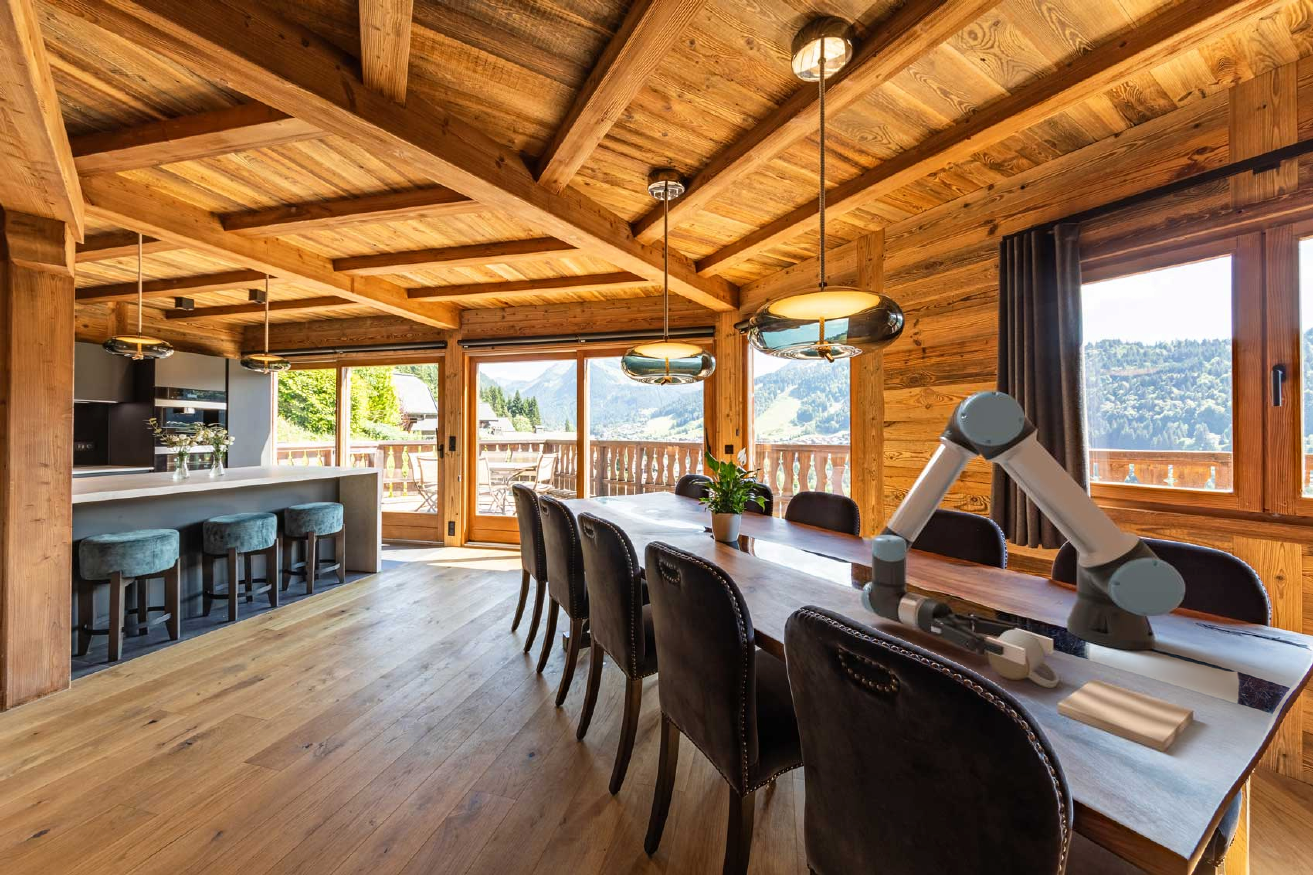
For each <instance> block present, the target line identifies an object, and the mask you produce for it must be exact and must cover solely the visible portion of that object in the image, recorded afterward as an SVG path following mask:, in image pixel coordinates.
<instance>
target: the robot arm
mask: <svg viewBox="0 0 1313 875" xmlns="http://www.w3.org/2000/svg"><path fill="white" fill-rule="evenodd" d="M946 424H947V425H946V427H945V429H944V430H943V431H942V433H941V434H940V436H939V441H940V444H939V446H938V447H937V449H936V450H935V452H934V453H933V455H932V456H931V458H930V459H929V460H928V462H927V464H926V465H925V467H924V468H923V470H922V471H921V473H919V475H918V477H917V478H916V480H915V481H914V482H913V485H912V486H911V487H910V489H909V491H908V492H907V493H906V495H905V496H904V498H903V499H902V501H901V503H900V504H899V505H898V507H897V508H896V510H895V512H894V513H893V515H892V516H891V517H890V519H889V520H888V522H887V523H886V525H885V527H884V528H883V529H882V531H881V532H880V534H878V535H875V536H873V538H872V542H871V543H872V544H871V567H872V568H871V569H872V570H871V573H872V574H871V575H872V579H871V581H869V582H867V583H866V584H865V585H864V586H863V588H862V592H861V593H860V601H861V604H862V606H863V608H864V609H865V611H867V612H870V613H872V614H874V615H876V616H878V617H880V618H883V619H887V620H890V621H893V622H895V623H900V624H901V625H904V626H907V627H909V628H911V629H912V630H913V631H916V630H918V631H922V632H924V633H926V634H929V635H931V636H934V637H937V638H942V639H943V640H946V641H947V642H950V643H952V644H954V645H956V646H958V647H960V648H963V649H965V650H967V651H968V652H971V653H975V652H976V650H977V655H978V656H985V654H986V652H987V653H988V652H989V653H991V654H994V655H997V656H1000V657H1003V658H1005V659H1008V660H1011V661H1014V662H1017V663H1019V664H1022V665H1024V664H1025V649H1024V648H1021V647H1018V646H1015V645H1012V644H1009V643H1006V642H1003V641H999V640H997V638H999V637H1000V636H1001V635H1002V633H1004V632H1005V631H1008V630H1021V631H1024V632H1026V633H1028V634H1030V635H1031V636H1032V637H1034V638H1035V639H1036V640H1037V641H1038V642H1039V644H1040V645H1041V647H1042V649H1043V651H1044V653H1045V654H1049V655H1052V654H1054V638H1050V637H1047V636H1044V635H1041V634H1038V633H1035V632H1031V631H1027V630H1024V629H1021V628H1020V624H1019V623H1017V622H1014V623H1013V622H1010V621H1006V620H1000V619H998V618H997V619H996V618H992V617H989V616H985V615H984V616H983V615H980V614H976V613H974V612H970V611H967V612H966V614H964V613H961V612H955V613H954V612H953V610H952V609H951V607H950V605H949V604H948V603H946V602H944V601H940V600H937V599H934V598H930V597H928V596H924V595H922V594H918V593H914V592H911V591H907V556H908V552H909V550H910V548H911V547H912V545H913V543H915V541H916V539H917V537H918V536H919V534H920V533H921V532H922V530H923V529H924V527H925V526H926V525H927V523H928V522H929V520H930V519H931V518H932V516H933V515H934V513H935V512H936V510H937V508H938V507H939V505H941V503H942V502H943V500H944V498H945V497H946V495H948V493H949V492H950V490H951V488H952V487H953V486H954V484H955V483H956V481H957V480H958V478H959V477H960V476H961V475H962V473H963V471H964V470H965V468H966V467H967V466H968V463H970V461H971V460H972V459H975V458H976V459H977V458H979V456H980V455H981V457H982V458H984V459H985V461H987V463H988V462H989V463H997V464H999V465H1000V466H1001V467H1002V469H1003V470H1004V471H1005V472H1006V473H1007V474H1008V475H1009V477H1010V478H1012V480H1013V481H1014V482H1015V483H1016V484H1017V485H1018V486H1019V487H1020V489H1021V490H1022V491H1023V492H1024V493H1025V494H1026V495H1027V496H1028V497H1029V499H1030V500H1031V501H1032V502H1033V503H1034V504H1035V505H1036V506H1037V507H1038V509H1040V511H1041V512H1042V513H1043V514H1044V516H1046V517H1047V519H1049V521H1050V522H1051V523H1052V524H1053V525H1054V526H1055V527H1056V528H1057V529H1058V531H1059V532H1060V534H1062V535H1063V537H1065V538H1066V540H1067V541H1068V542H1069V543H1070V544H1071V546H1073V547H1074V548H1075V550H1076V599H1075V602H1074V604H1073V606H1072V608H1071V611H1070V612H1069V616H1068V617H1067V620H1066V623H1067V624H1066V625H1067V626H1066V627H1067V628H1066V629H1067V632H1068V633H1069V634H1070V635H1072V636H1074V637H1076V638H1078V639H1081V640H1083V641H1087V642H1089V643H1092V644H1096V645H1098V646H1099V645H1100V646H1105V647H1109V648H1113V649H1114V648H1115V649H1120V650H1130V651H1131V650H1132V651H1148V650H1152V649H1154V648H1155V646H1156V642H1155V641H1156V636H1155V633H1154V631H1153V628H1152V626H1151V623H1150V620H1149V618H1148V617H1160V616H1162V615H1166V614H1169V613H1171V612H1172V611H1173V610H1175V609H1176V608H1177V607H1179V606H1180V605H1181V603H1182V601H1183V600H1184V597H1185V595H1186V594H1185V593H1186V584H1185V581H1184V579H1183V578H1184V577H1183V576H1182V575H1181V574H1180V573H1179V571H1178V570H1177V569H1176V568H1175V567H1174V566H1173V565H1171V564H1170V563H1168V562H1167V561H1165V560H1162V559H1161V558H1160V557H1158V556H1157V554H1156V553H1155V552H1154V551H1153V550H1152V549H1151V548H1150V547H1149V546H1148V545H1147V544H1146V543H1145V542H1144V541H1143V540H1142V539H1141V538H1140V537H1139V536H1138V535H1137V534H1136V533H1132V532H1125V531H1122V530H1121V529H1120V528H1119V526H1117V524H1116V523H1115V522H1114V521H1113V520H1112V519H1111V518H1110V517H1109V516H1108V514H1106V512H1105V511H1104V510H1103V509H1101V507H1100V506H1099V505H1098V504H1097V503H1096V502H1095V501H1094V499H1092V498H1091V496H1089V495H1088V493H1087V492H1086V491H1085V490H1084V489H1083V488H1082V487H1081V486H1080V485H1079V484H1078V483H1077V482H1076V480H1075V479H1074V478H1073V477H1072V476H1071V475H1070V474H1069V473H1068V471H1066V470H1065V468H1063V467H1062V466H1061V464H1060V463H1059V462H1058V461H1057V460H1056V459H1055V458H1054V457H1053V456H1052V454H1050V453H1049V451H1047V449H1045V448H1044V446H1043V445H1042V444H1041V443H1040V442H1039V441H1038V440H1037V438H1038V437H1037V435H1038V428H1037V427H1036V426H1035V425H1034V424H1033V423H1032V422H1031V421H1030V420H1029V418H1027V416H1025V413H1024V410H1023V408H1022V406H1021V405H1020V403H1019V402H1018V401H1017V400H1016V399H1015V398H1014V397H1012V396H1011V395H1008V394H1007V393H1004V392H1001V391H995V390H983V391H979V392H975V393H974V394H971V395H970V396H967V397H966V398H964V399H963V400H961V401H960V402H958V404H957V405H956V406H955V408H954V410H953V412H952V413H951V416H950V419H949V421H948V423H946ZM982 635H984V636H985V635H986V636H987V637H984V636H982ZM994 637H995V638H994ZM996 637H997V638H996ZM985 638H986V639H985Z"/></svg>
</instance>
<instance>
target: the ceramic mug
mask: <svg viewBox="0 0 1313 875" xmlns="http://www.w3.org/2000/svg"><path fill="white" fill-rule="evenodd" d="M1021 630H1022V629H1021ZM1021 630H1008V631H1005V632H1004V633H1002V635H1001V636H1000V637H997V638H996V640H999V641H1003V642H1006V643H1009V644H1012V645H1015V646H1018V647H1021V648H1024V649H1025V664H1024V665H1022V664H1019V663H1017V662H1014V661H1011V660H1008V659H1005V658H1003V657H1000V656H997V655H994V654H991V653H989V652H987V657H988V658H987V659H988V662H989V664H990V666H991V668H992V669H993V670H994V672H996V673H997V674H998V675H1000V676H1001V677H1002V678H1005V679H1008V680H1013V681H1020V680H1023V679H1026V678H1028V679H1030V680H1031V681H1033V682H1034V683H1035V684H1038V685H1040V686H1042V687H1045V688H1049V689H1050V688H1051V689H1053V688H1055V687H1056V686H1057V684H1058V682H1060V677H1059V675H1058V674H1057V673H1056V671H1055V670H1054V669H1053V668H1051V666H1050V665H1049V664H1047V663H1046V662H1044V661H1045V660H1044V659H1045V652H1044V651H1043V649H1042V647H1041V645H1040V644H1039V642H1038V641H1037V640H1036V639H1035V638H1034V637H1032V636H1031V635H1030V634H1028V633H1026V632H1024V631H1021ZM1038 669H1039V670H1041V671H1042V672H1043V673H1045V674H1046V675H1047V676H1048V677H1049V678H1050V680H1049V679H1047V678H1044V677H1042V676H1040V675H1038V674H1037V673H1036V672H1035V671H1037V670H1038Z"/></svg>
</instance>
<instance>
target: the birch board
mask: <svg viewBox="0 0 1313 875" xmlns="http://www.w3.org/2000/svg"><path fill="white" fill-rule="evenodd" d="M1057 713H1058V714H1060V715H1063V716H1065V717H1068V718H1071V719H1074V720H1077V721H1078V722H1081V723H1084V724H1087V725H1089V726H1092V727H1095V728H1097V729H1100V730H1102V731H1105V732H1109V733H1111V734H1112V735H1113V734H1114V735H1116V736H1119V737H1121V738H1124V739H1127V740H1130V741H1132V742H1135V743H1138V744H1140V745H1143V746H1146V747H1148V748H1151V749H1153V750H1156V751H1159V752H1162V753H1164V752H1165V751H1166V749H1168V747H1169V746H1170V745H1171V744H1173V741H1174V740H1176V738H1177V737H1178V736H1179V735H1180V734H1181V733H1183V731H1184V730H1185V729H1186V727H1187V726H1189V724H1190V723H1191V722H1192V721H1193V720H1194V709H1191V708H1187V707H1185V706H1182V705H1181V706H1180V705H1178V704H1175V703H1172V702H1170V701H1169V702H1168V701H1165V700H1162V699H1160V698H1156V697H1153V696H1151V695H1146V694H1143V693H1141V692H1140V693H1139V692H1136V691H1134V690H1131V689H1127V688H1124V687H1121V686H1118V685H1115V684H1112V683H1108V682H1104V681H1101V680H1098V679H1095V678H1093V679H1091V680H1090V681H1089V682H1088V683H1086V684H1084V685H1082V686H1081V687H1080V688H1079V689H1077V690H1076V691H1074V692H1073V693H1071V694H1070V695H1069V696H1067V697H1065V698H1064V699H1063V700H1060V702H1057Z"/></svg>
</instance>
